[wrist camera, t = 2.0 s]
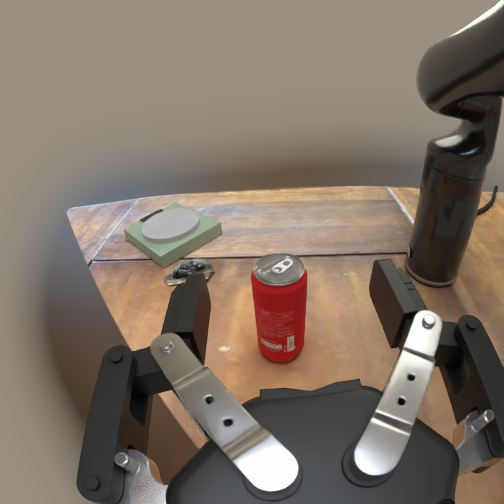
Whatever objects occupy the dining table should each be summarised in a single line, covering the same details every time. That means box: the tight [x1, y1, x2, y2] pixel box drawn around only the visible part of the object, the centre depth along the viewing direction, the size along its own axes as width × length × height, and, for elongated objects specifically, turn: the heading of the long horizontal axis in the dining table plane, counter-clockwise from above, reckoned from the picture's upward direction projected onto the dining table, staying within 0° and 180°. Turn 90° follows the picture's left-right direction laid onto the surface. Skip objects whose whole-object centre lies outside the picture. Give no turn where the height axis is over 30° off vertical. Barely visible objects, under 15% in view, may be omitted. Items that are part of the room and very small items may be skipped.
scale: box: [124, 203, 222, 268], centre depth 56 cm, size 13×15×3 cm
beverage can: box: [251, 253, 307, 363], centre depth 31 cm, size 5×5×12 cm
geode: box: [164, 259, 214, 286], centre depth 47 cm, size 7×8×2 cm
